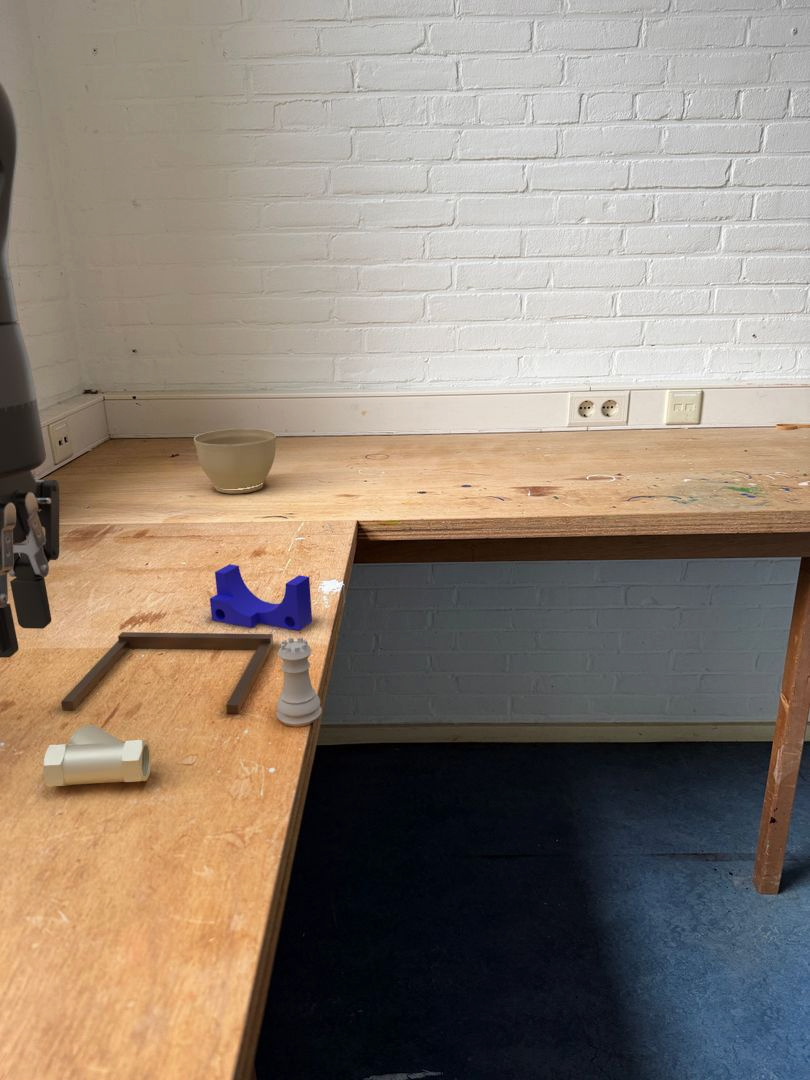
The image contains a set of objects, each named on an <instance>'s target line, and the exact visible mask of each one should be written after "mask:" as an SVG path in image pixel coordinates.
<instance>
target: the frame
mask: <svg viewBox="0 0 810 1080" xmlns="http://www.w3.org/2000/svg"><path fill="white" fill-rule="evenodd" d="M273 635H274V634H273V633H226V632H225V633H223V632H219V633H218V632H217V633H216V632H215V633H214V632H212V633H211V632H143V631H142V632H141V631H140V632H138V631H137V632H136V631H135V632H134V631H133V632H132V631H122V632H120V633H119V635H118V636H117V641H116V642H115V643H114V644H113V645H112V647H110V649H108V651H107V652H106V653H105V654H104V655H103V656H102V657H101V658H100V659H99V660H98V661H97V663H95V664H94V666H93V667H92V668H91V669H90V670H89V671H88V672H87V673H86V674H85V675H84V676H83V678H81V679H80V681H79V682H78V683H77V684H76V685H75V686H74V687H73V688H72V689H71V690H70V691H69V692H68V693H67V695H66V696H64V698H62V700H61V701H60V703H61V709H62V711H74V710H75V709H76V708H78V706H79V705H80V704H81V703H82V701H83V700H84V699H85V698H86V697H87V696H88V695H89V694H90V692H92V690H93V689H94V688H95V687H96V686H97V685H98V684H99V682H100V681H101V680H102V679H103V678H104V677H105V676H106V674H108V673H109V671H110V670H111V669H112V668H113V667H114V666H115V665H116V663H117V662H118V661H119V660H120V659H121V658H122V656H124V654H125V653H126V652H127V651H128V650H129V649H180V650H181V649H184V650H185V649H189V650H190V649H191V650H253V651H255V652H254V653H253V655H252V656H251V659H250V661H249V663H248V665H247V666H246V668H245V669H244V672H243V674H242V675H241V677H240V679H239V681H238V682H237V684H236V686H235V688H234V689H233V691H232V693H231V695H230V697H229V699H228V700H227V703H226V704H225V705H226V706H225V707H226V714H239V713H240V712H241V709H242V707H243V706H244V703H245V702H246V699H247V698H248V696H249V694H250V692H251V690H252V688H253V686H254V684H255V682H256V681H257V678H258V677H259V675H260V672H261V670H262V669H263V667H264V665H265V663H266V661H267V659H268V657H269V655H270V653H271V651H272V649H273V647H274V636H273Z"/></svg>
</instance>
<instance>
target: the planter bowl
mask: <svg viewBox="0 0 810 1080" xmlns="http://www.w3.org/2000/svg"><path fill="white" fill-rule="evenodd" d="M276 442H277V434H276V433H275V432H274V431H271V430H266V429H262V428H261V429H259V428H227V429H217V430H212V431H207V432H203V433H199V434H197V435H195V436H194V437H193V443H194V446H195V451H196V455H197V459H198V462H199V465H200V466H201V468H202V471H203V472H204V473H205V476H207V478H208V479H209V481H210V482H212V483H213V485H214V488H215V490H216V491H217V492H219V493H222V494H227V495H228V494H246V493H252V492H255V491H259V490H261V489H262V488H264V482H263V481H265V480H266V478H267V476H268V475H269V473H270V472H271V470H272V467H273V464H274V460H275V456H276ZM261 483H263V484H262V485H260V486H258V487H254V488H250V489H243V490H223V489H238V488H247V487H252V486H256V485H259V484H261ZM215 486H216V487H218V488H223V489H218V488H216V487H215Z"/></svg>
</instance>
